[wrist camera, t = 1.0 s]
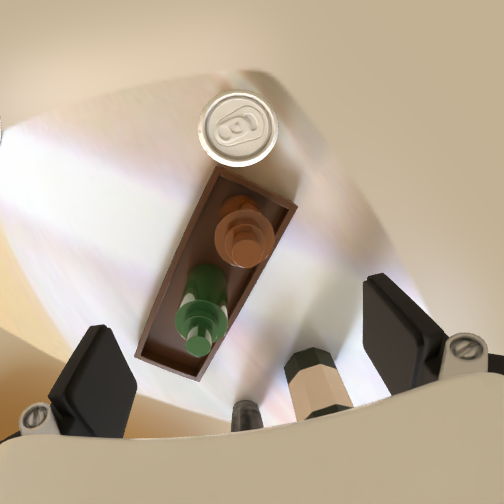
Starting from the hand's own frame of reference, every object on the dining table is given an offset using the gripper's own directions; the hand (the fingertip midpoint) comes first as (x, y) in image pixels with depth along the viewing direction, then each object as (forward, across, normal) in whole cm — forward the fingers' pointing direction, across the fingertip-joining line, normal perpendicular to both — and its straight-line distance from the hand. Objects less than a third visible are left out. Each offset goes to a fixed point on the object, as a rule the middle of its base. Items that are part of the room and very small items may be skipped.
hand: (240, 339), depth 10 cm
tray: (+29, +6, +10) cm, 31 cm away
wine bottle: (+29, -7, +29) cm, 41 cm away
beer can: (+29, -2, -8) cm, 30 cm away
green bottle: (+28, +5, +10) cm, 30 cm away
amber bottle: (+28, -1, +2) cm, 28 cm away
